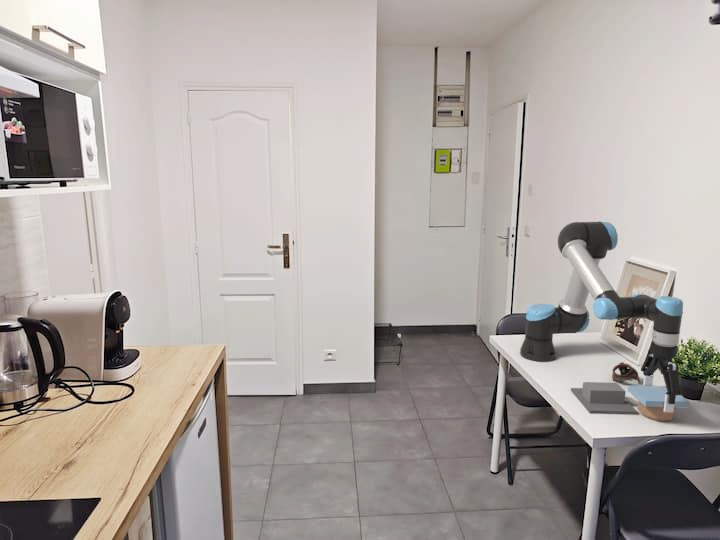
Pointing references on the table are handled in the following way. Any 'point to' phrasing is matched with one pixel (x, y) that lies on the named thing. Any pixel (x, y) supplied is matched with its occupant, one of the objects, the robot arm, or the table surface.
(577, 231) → the robot arm
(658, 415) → the brown octagonal bowl
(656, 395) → the cover sheet
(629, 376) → the brown openwork dome
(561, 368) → the table surface
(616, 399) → the grey stepped plinth
